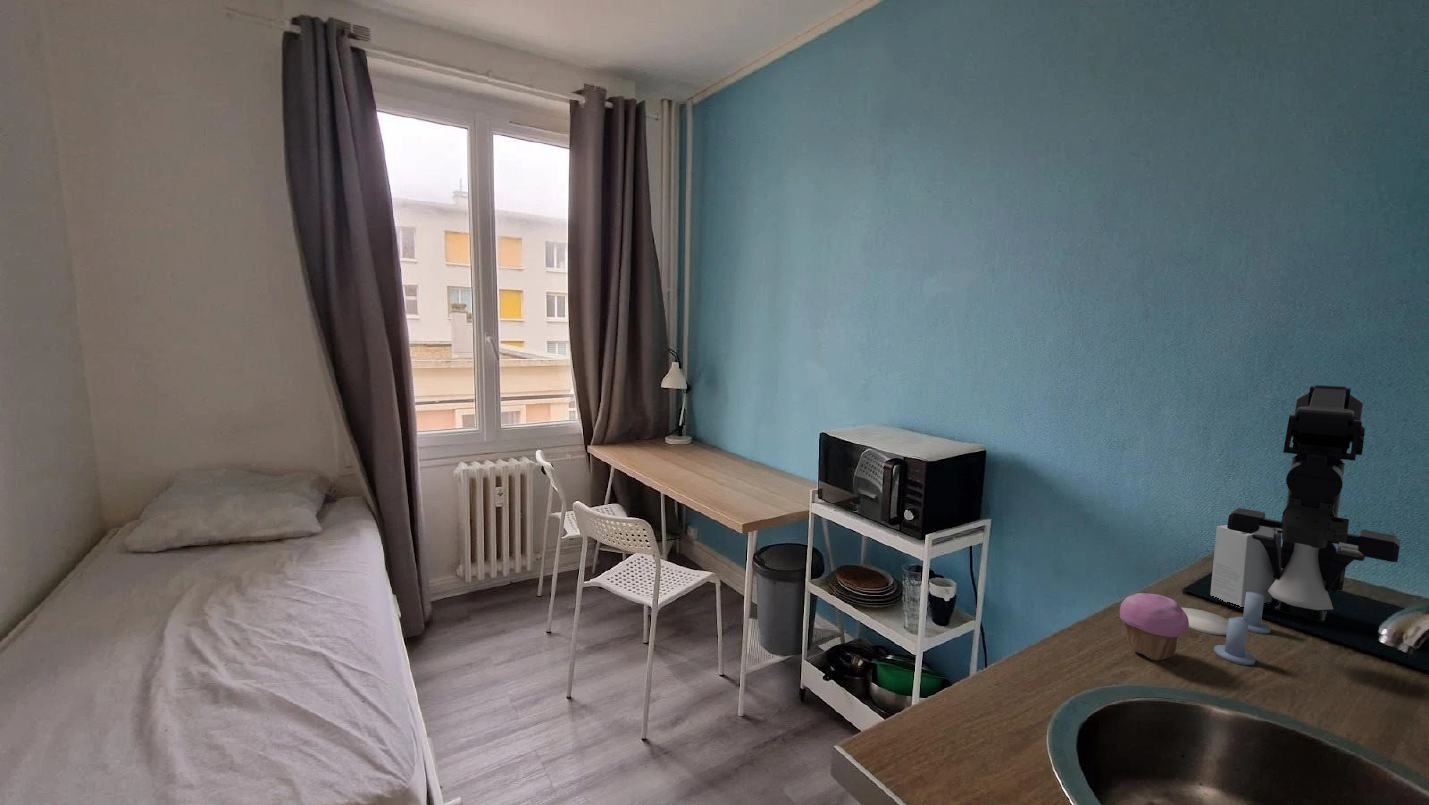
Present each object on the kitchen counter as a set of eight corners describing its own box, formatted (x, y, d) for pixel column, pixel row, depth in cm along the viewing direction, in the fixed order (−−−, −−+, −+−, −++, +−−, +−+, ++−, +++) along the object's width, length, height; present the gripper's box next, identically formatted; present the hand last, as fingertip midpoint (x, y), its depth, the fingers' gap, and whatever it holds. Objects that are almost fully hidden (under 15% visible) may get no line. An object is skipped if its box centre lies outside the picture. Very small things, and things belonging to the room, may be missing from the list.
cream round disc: (1177, 606, 112) (1177, 603, 112) (1239, 624, 105) (1239, 621, 105) (1164, 620, 106) (1164, 617, 106) (1229, 640, 100) (1229, 637, 100)
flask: (1345, 614, 90) (1354, 551, 88) (1289, 609, 91) (1297, 547, 90) (1308, 593, 97) (1316, 535, 95) (1257, 589, 98) (1264, 532, 97)
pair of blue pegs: (1235, 617, 108) (1239, 586, 107) (1272, 627, 104) (1276, 595, 104) (1210, 655, 95) (1215, 620, 94) (1252, 669, 91) (1256, 632, 90)
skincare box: (1239, 592, 119) (1245, 520, 117) (1274, 605, 113) (1281, 530, 111) (1208, 596, 117) (1214, 523, 115) (1241, 609, 111) (1248, 533, 109)
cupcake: (1195, 661, 93) (1202, 601, 92) (1166, 675, 89) (1172, 613, 88) (1134, 635, 101) (1139, 580, 100) (1105, 647, 97) (1110, 590, 96)
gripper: (1225, 485, 93) (1215, 578, 95) (1405, 514, 79) (1388, 622, 81) (1239, 475, 101) (1228, 562, 103) (1406, 499, 86) (1390, 599, 88)
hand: (1301, 584), depth 93 cm, fingers closed on flask, 5 cm apart
